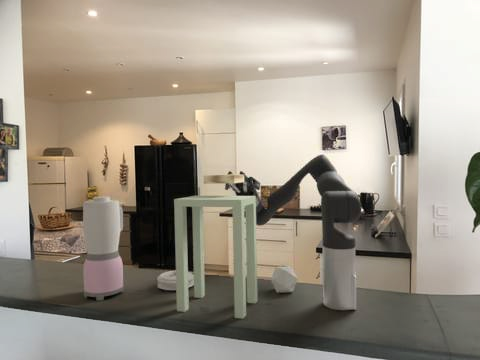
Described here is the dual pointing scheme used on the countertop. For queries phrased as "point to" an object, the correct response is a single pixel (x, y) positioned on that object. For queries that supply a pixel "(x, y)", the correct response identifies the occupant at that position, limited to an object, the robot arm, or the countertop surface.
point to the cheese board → (223, 178)
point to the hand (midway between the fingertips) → (234, 173)
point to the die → (284, 279)
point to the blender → (102, 247)
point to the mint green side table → (198, 248)
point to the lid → (172, 280)
